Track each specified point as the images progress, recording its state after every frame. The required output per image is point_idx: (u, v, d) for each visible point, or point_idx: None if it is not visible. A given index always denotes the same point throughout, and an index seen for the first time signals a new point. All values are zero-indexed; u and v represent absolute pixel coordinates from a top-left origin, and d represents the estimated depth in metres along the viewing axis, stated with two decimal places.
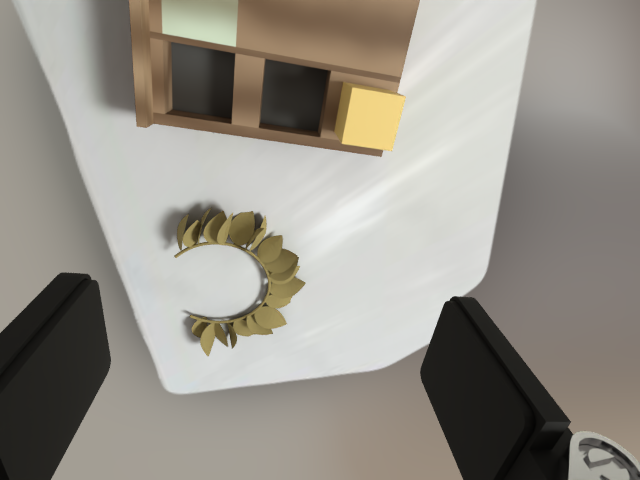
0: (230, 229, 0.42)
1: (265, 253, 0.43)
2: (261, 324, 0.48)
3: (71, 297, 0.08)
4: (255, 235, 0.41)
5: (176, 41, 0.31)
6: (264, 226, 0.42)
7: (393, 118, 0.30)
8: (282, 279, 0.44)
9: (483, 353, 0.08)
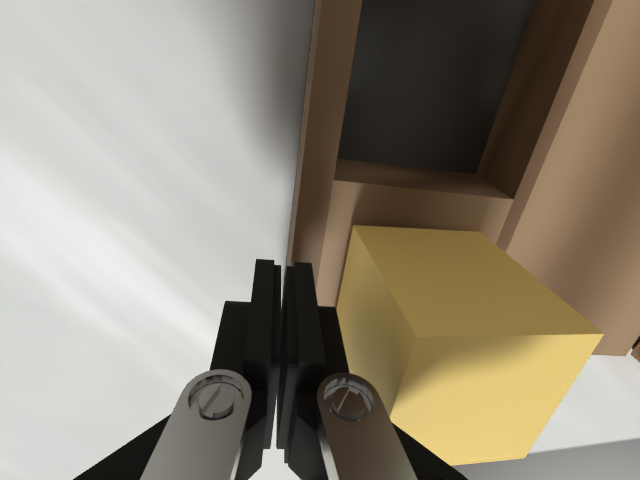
0: None
1: None
2: None
3: (275, 278, 0.10)
4: None
5: None
6: None
7: (473, 450, 0.09)
8: None
9: (287, 308, 0.09)
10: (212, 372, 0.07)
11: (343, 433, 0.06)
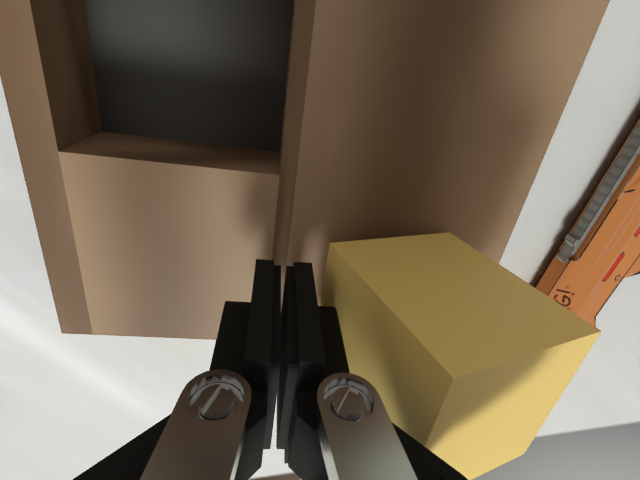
0: None
1: None
2: None
3: (276, 278, 0.10)
4: None
5: None
6: None
7: (485, 463, 0.09)
8: None
9: (287, 308, 0.09)
10: (212, 372, 0.07)
11: (343, 433, 0.06)
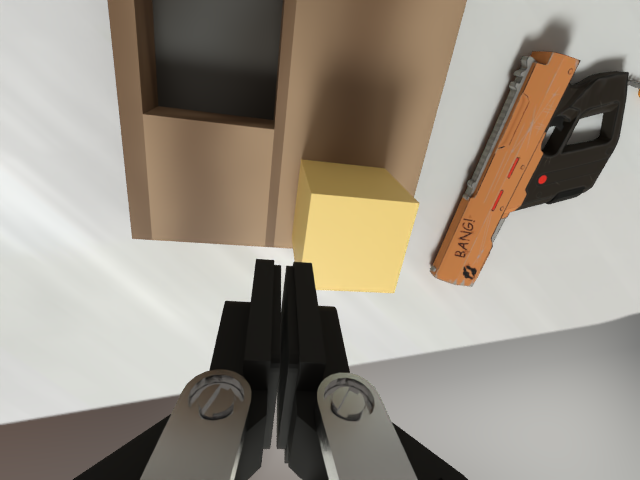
0: None
1: None
2: None
3: (275, 278, 0.10)
4: None
5: None
6: None
7: (358, 281, 0.16)
8: None
9: (287, 308, 0.09)
10: (212, 372, 0.07)
11: (343, 433, 0.06)
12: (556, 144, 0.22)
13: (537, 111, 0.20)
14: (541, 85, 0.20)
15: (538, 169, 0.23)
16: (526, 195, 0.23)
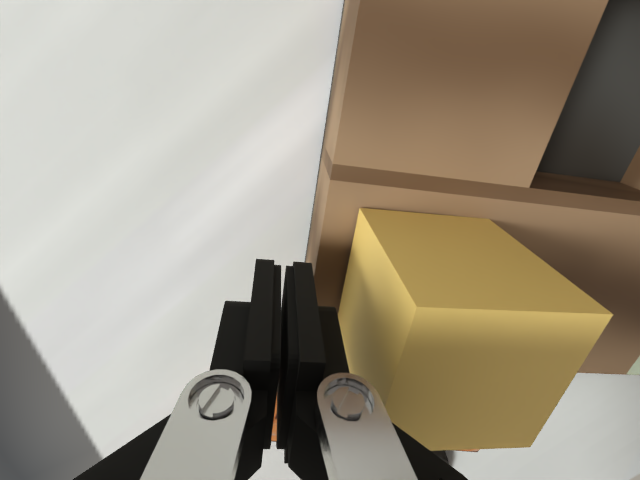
0: None
1: None
2: None
3: (276, 278, 0.10)
4: None
5: None
6: None
7: (409, 402, 0.08)
8: None
9: (287, 308, 0.09)
10: (212, 372, 0.07)
11: (343, 433, 0.06)
12: None
13: None
14: None
15: None
16: None
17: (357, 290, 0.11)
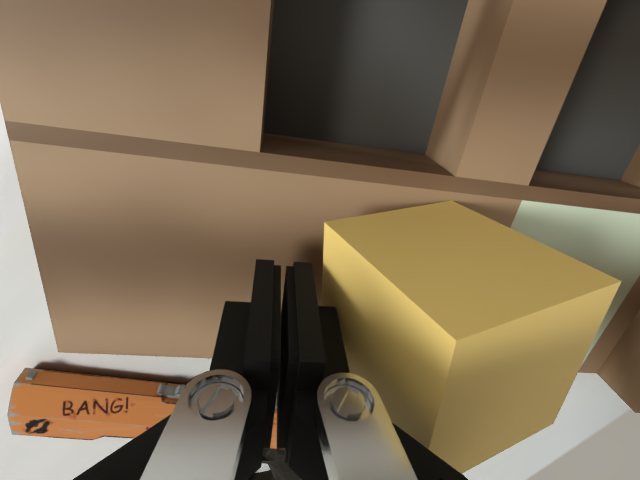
0: None
1: None
2: None
3: (275, 278, 0.10)
4: None
5: None
6: None
7: (451, 435, 0.07)
8: None
9: (287, 308, 0.09)
10: (212, 372, 0.07)
11: (343, 433, 0.06)
12: None
13: (275, 435, 0.18)
14: None
15: None
16: None
17: (346, 316, 0.10)
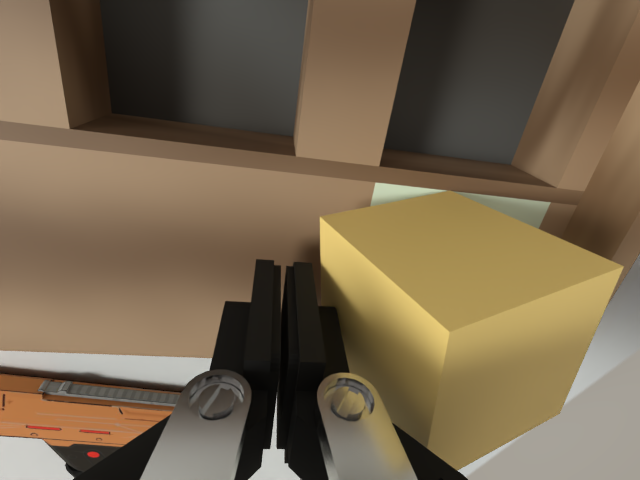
0: None
1: None
2: None
3: (276, 278, 0.10)
4: None
5: (525, 187, 0.12)
6: None
7: (451, 427, 0.07)
8: None
9: (288, 308, 0.09)
10: (212, 372, 0.07)
11: (343, 433, 0.06)
12: None
13: None
14: None
15: (104, 448, 0.18)
16: (66, 446, 0.18)
17: (345, 310, 0.10)
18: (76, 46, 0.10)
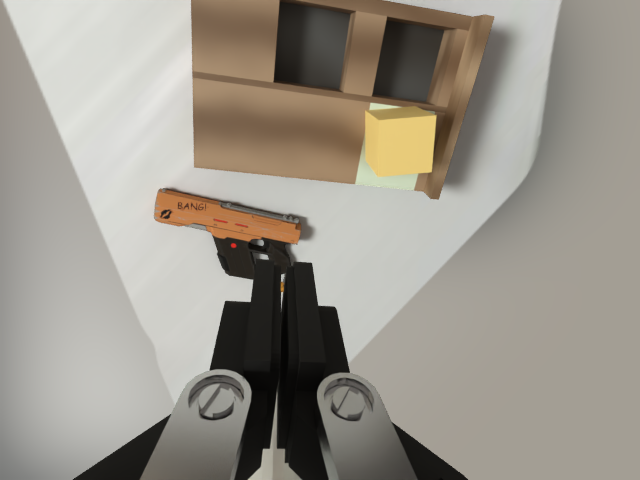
0: None
1: None
2: None
3: (275, 278, 0.10)
4: None
5: (424, 105, 0.32)
6: None
7: (385, 154, 0.29)
8: None
9: (287, 308, 0.09)
10: (212, 372, 0.07)
11: (343, 433, 0.06)
12: (254, 248, 0.40)
13: (272, 230, 0.38)
14: (285, 229, 0.38)
15: (239, 241, 0.39)
16: (223, 238, 0.39)
17: (368, 138, 0.32)
18: (275, 56, 0.30)
